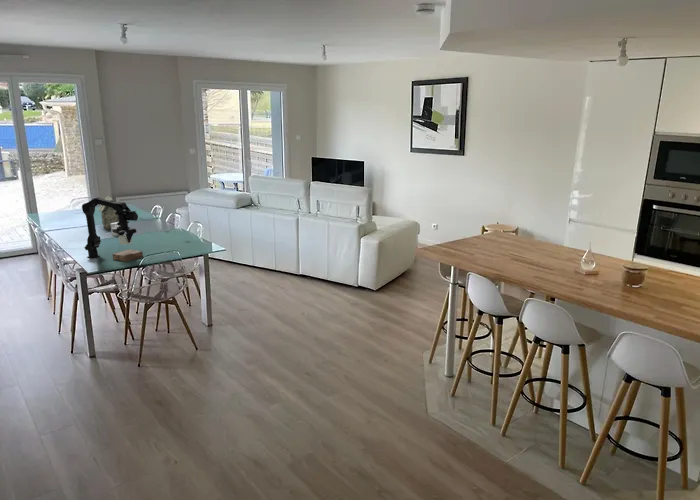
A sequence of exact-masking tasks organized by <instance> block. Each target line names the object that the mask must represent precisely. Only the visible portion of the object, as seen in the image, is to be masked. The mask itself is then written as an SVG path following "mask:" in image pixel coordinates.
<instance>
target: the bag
mask: <svg viewBox="0 0 700 500" xmlns="http://www.w3.org/2000/svg"><path fill="white" fill-rule="evenodd" d="M104 199H105V200H109V201H113V202H116V201H115V200H113V198H112V197H110V196H109V195H107V196H106V197H105V198H104ZM98 211H99V212H100V213H101V214H100V215H101V223H102V226H103V227H104V229H105V230H111V225H110V223H115V222H119V221H118V214H115V213H116V210H114V209H113V208H111V207H107V206H103V205H100V207H99V209H98Z"/></svg>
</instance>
